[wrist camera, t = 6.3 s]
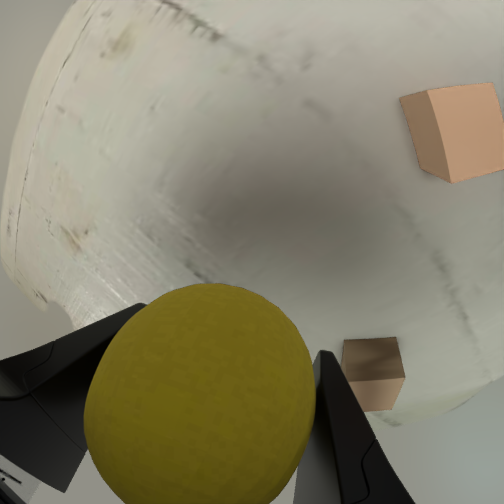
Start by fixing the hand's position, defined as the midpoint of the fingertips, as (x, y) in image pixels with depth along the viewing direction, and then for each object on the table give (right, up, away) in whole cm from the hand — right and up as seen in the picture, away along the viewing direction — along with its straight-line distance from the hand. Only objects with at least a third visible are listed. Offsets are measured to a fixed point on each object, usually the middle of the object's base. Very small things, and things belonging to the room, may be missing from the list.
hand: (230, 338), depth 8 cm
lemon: (0, +1, +2) cm, 2 cm away
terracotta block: (+13, +11, +5) cm, 18 cm away
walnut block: (+12, -7, +15) cm, 20 cm away
